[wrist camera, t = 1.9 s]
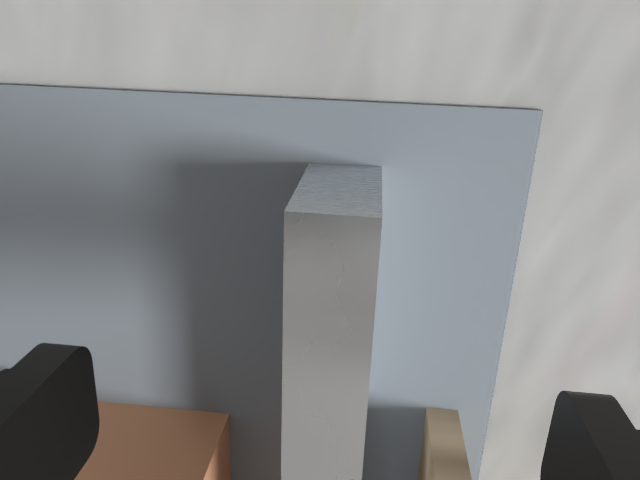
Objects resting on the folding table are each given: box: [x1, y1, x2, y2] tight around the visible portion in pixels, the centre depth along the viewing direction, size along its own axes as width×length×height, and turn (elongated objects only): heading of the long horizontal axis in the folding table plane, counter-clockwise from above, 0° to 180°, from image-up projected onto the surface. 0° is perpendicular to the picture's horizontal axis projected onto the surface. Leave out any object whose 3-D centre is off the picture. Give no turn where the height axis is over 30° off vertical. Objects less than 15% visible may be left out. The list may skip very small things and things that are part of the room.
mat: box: [0, 84, 543, 480], centre depth 19 cm, size 20×17×1 cm
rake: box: [281, 162, 383, 480], centre depth 17 cm, size 16×10×4 cm, turn 178°
